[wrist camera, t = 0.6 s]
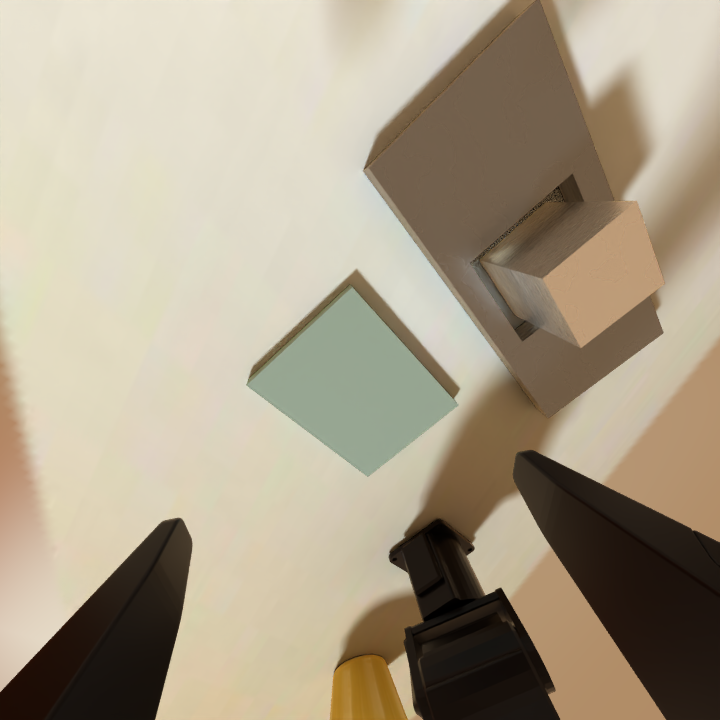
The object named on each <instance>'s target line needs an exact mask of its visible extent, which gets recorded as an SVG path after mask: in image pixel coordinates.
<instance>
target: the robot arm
mask: <svg viewBox="0 0 720 720" xmlns="http://www.w3.org/2000/svg"><path fill="white" fill-rule="evenodd" d="M513 479H514V482H515V484H516V486H517V488H518V489H519V491H520V493H521V495H522V497H523V499H524V501H525V502H526V504H527V506H528V508H529V510H530V512H531V513H532V515H533V517H534V519H535V521H536V523H537V525H538V526H539V528H540V530H541V532H542V533H543V535H544V537H545V538H546V540H547V541H548V543H549V544H550V546H551V547H552V549H553V550H554V552H555V553H556V555H557V556H558V558H559V559H560V561H561V562H562V564H563V565H564V567H565V568H566V570H567V571H568V573H569V574H570V576H571V577H572V579H573V580H574V582H575V583H576V585H577V586H578V588H579V589H580V591H581V592H582V594H583V595H584V597H585V598H586V600H587V601H588V603H589V604H590V606H591V607H592V609H593V610H594V612H595V613H596V615H597V616H598V618H599V619H600V621H601V622H602V624H603V625H604V627H605V628H606V630H607V631H608V633H609V634H610V636H611V637H612V639H613V640H614V642H615V643H616V645H617V646H618V648H619V649H620V651H621V652H622V654H623V655H624V657H625V658H626V660H627V661H628V663H629V664H630V666H631V667H632V669H633V671H634V672H635V674H636V675H637V677H638V678H639V679H640V681H641V682H642V684H643V685H644V687H645V688H646V690H647V691H648V693H649V694H650V696H651V697H652V699H653V700H654V702H655V703H656V705H657V706H658V708H659V710H660V711H661V713H662V714H663V716H664V717H665V719H666V720H720V542H718V541H716V540H714V539H712V538H710V537H708V536H706V535H704V534H702V533H700V532H698V531H692V529H691V528H689V527H687V526H685V525H683V524H681V523H679V522H677V521H675V520H673V519H671V518H669V517H667V516H665V515H663V514H661V513H659V512H657V511H655V510H653V509H651V508H649V507H646V506H645V505H643V504H641V503H639V502H637V501H635V500H632V499H630V498H628V497H626V496H624V495H622V494H620V493H618V492H616V491H614V490H612V489H610V488H608V487H606V486H604V485H602V484H600V483H598V482H596V481H594V480H592V479H590V478H588V477H586V476H584V475H582V474H580V473H578V472H576V471H574V470H572V469H570V468H568V467H566V466H564V465H562V464H560V463H558V462H556V461H554V460H551V459H549V458H547V457H545V456H543V455H541V454H539V453H537V452H535V451H533V450H527V451H522V452H518V453H517V454H516V457H515V463H514V469H513ZM474 549H475V548H474V546H473V544H472V543H471V542H470V541H468V540H467V539H466V538H465V537H463V536H462V535H461V534H460V533H458V532H457V531H456V530H454V529H453V528H452V527H451V526H449V525H448V524H447V523H446V522H444V521H443V520H441V519H439V520H436V521H435V522H433V523H432V524H430V525H429V526H428V527H426V528H425V529H424V530H422V531H421V532H419V533H418V534H417V535H415V536H414V537H413V538H411V539H410V540H408V541H407V542H406V543H404V544H403V545H402V546H400V547H399V548H397V549H396V550H395V551H393V552H392V553H391V554H390V555H389V560H390V562H391V563H393V564H394V565H396V566H398V567H399V568H401V569H403V570H404V571H406V572H407V573H408V574H409V577H410V581H411V584H412V587H413V590H414V594H415V597H416V600H417V603H418V607H419V610H420V613H421V617H422V620H423V622H422V623H420V624H417V625H415V626H413V627H411V626H409V627H407V628H405V634H406V639H405V640H404V645H405V649H406V653H407V657H408V662H409V667H410V676H411V687H412V698H413V706H414V710H415V712H416V714H417V715H419V716H420V717H421V718H422V719H423V720H560V718H559V716H558V714H557V712H556V710H555V708H554V706H553V704H552V702H551V700H550V698H549V696H548V694H550V693H553V692H555V687H554V685H553V682H552V680H551V678H550V676H549V673H548V671H547V669H546V667H545V665H544V663H543V661H542V659H541V657H540V655H539V653H538V652H537V650H536V648H535V646H534V644H533V642H532V641H531V639H530V637H529V635H528V633H527V631H526V630H525V628H524V626H523V625H522V623H521V621H520V619H519V618H518V616H517V614H516V613H515V611H514V609H513V607H512V605H511V604H510V602H509V600H508V599H507V597H506V595H505V593H504V592H503V590H502V588H498V589H496V590H495V592H492V593H490V594H488V595H485V593H484V591H483V589H482V587H481V585H480V583H479V581H478V579H477V577H476V575H475V573H474V571H473V569H472V567H471V565H470V562H469V560H468V558H467V555H468V554H470V553H471V552H473V551H474ZM191 553H192V539H191V536H190V534H189V532H188V530H187V527H186V525H185V523H184V521H183V520H182V519H181V518H174V519H169V520H165V521H163V522H161V523H160V524H159V525H158V526H157V527H156V528H155V529H154V530H153V531H152V532H151V533H150V535H149V536H148V537H147V538H146V539H145V540H144V541H143V542H142V543H141V544H140V545H139V546H138V547H137V548H136V549H135V550H134V551H133V552H132V554H131V555H130V556H129V557H128V558H127V559H126V560H125V561H124V562H123V563H122V564H121V565H120V566H119V567H118V568H117V569H116V570H115V571H114V573H113V574H112V575H111V576H110V577H109V578H108V579H107V580H106V581H105V582H104V583H103V584H102V585H101V586H100V587H99V588H98V589H97V590H96V592H95V593H94V594H93V595H92V596H91V597H90V598H89V599H88V600H87V601H86V602H85V603H84V604H83V605H82V606H81V607H80V608H79V610H78V611H77V612H76V613H75V614H74V615H73V616H72V617H71V618H70V619H69V620H68V621H67V622H66V623H65V624H64V625H63V626H62V627H61V629H60V630H59V631H58V632H57V633H56V634H55V635H54V636H53V637H52V638H51V639H50V640H49V641H48V642H47V643H46V645H44V647H43V648H42V649H41V650H40V651H39V652H38V653H37V654H36V655H35V656H34V657H33V658H32V659H31V660H30V661H29V662H28V663H27V664H26V665H25V667H24V668H23V669H22V670H21V671H20V672H19V673H18V674H17V675H16V676H15V677H14V678H13V679H12V680H11V681H10V682H9V683H8V684H7V686H6V687H5V688H4V689H3V690H2V691H1V692H0V720H155V718H156V714H157V710H158V706H159V703H160V699H161V695H162V691H163V687H164V683H165V679H166V675H167V672H168V668H169V664H170V660H171V656H172V652H173V648H174V644H175V641H176V637H177V633H178V629H179V625H180V620H181V616H182V610H183V605H184V598H185V592H186V585H187V579H188V573H189V566H190V560H191Z"/></svg>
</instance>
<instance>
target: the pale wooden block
mask: <svg viewBox="0 0 720 720" xmlns="http://www.w3.org/2000/svg"><path fill="white" fill-rule="evenodd" d="M479 261H480V262H481V264H482V266H483V267H484V269H485V270H486V272H487V273H488V275H489V276H490V278H491V280H492V281H493V283H494V284H495V286H496V287H497V289H498V290H499V292H500V294H501V295H502V297H503V298H504V300H505V301H506V303H507V304H508V306H509V308H510V309H511V311H512V312H513V314H514V315H515V316H517V317H519V318H521V319H523V320H525V321H527V322H529V323H531V324H533V325H535V326H537V327H539V328H541V329H543V330H545V331H547V332H549V333H551V334H553V335H555V336H557V337H559V338H561V339H563V340H565V341H567V342H569V343H571V344H573V345H575V346H577V347H580V348H582V347H583V346H584V345H586V344H587V343H588V342H590V341H591V340H592V339H593V338H595V337H596V336H597V335H599V334H600V333H601V332H603V331H604V330H605V329H606V328H608V327H609V326H610V325H612V324H613V323H614V322H616V321H617V320H618V319H620V318H621V317H622V316H623V315H625V314H626V313H627V312H629V311H630V310H631V309H633V308H634V307H635V306H636V305H638V304H639V303H640V302H642V301H643V300H644V299H646V298H647V297H648V296H649V295H651V294H652V293H653V292H655V291H656V290H657V289H659V288H660V287H661V286H662V285H664V284H665V282H664V279H663V276H662V274H661V271H660V268H659V265H658V262H657V259H656V256H655V253H654V250H653V247H652V244H651V241H650V238H649V235H648V232H647V229H646V226H645V224H644V221H643V218H642V215H641V212H640V209H639V206H638V203H637V201H594V202H545V203H544V204H543V205H542V206H541V207H539V208H538V209H537V210H536V211H535V212H534V213H533V214H531V215H530V216H529V217H528V218H527V219H526V220H524V221H523V222H522V223H521V224H520V225H519V226H518V227H516V228H515V229H514V230H513V231H512V232H511V233H510V234H508V235H507V236H506V237H505V238H504V239H503V240H502V241H500V242H499V243H498V244H497V245H496V246H495V247H494V248H492V249H491V250H490V251H489V252H488V253H487V254H485V255H484V256H483V257H482V258H481V259H480V260H479Z"/></svg>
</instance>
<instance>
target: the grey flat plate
mask: <svg viewBox="0 0 720 720" xmlns="http://www.w3.org/2000/svg"><path fill="white" fill-rule="evenodd" d="M363 172H364V173H365V174H366V176H367V177H368V178H369V180H370V181H371V183H372V184H373V185H374V187H375V188H376V189H377V191H378V192H379V193H380V195H381V196H382V198H383V199H384V200H385V202H386V203H387V204H388V206H389V207H390V209H391V210H392V211H393V213H394V214H395V215H396V217H397V218H398V219H399V221H400V222H401V224H402V225H403V226H404V228H405V229H406V230H407V232H408V233H409V235H410V236H411V237H412V239H413V240H414V241H415V243H416V244H417V246H418V247H419V248H420V250H421V251H422V252H423V254H424V255H425V256H426V258H427V259H428V261H429V262H430V263H431V265H432V266H433V267H434V269H435V270H436V272H437V273H438V274H439V276H440V277H441V278H442V280H443V281H444V282H445V284H446V285H447V287H448V288H449V289H450V291H451V292H452V293H453V295H454V296H455V298H456V299H457V300H458V302H459V303H460V304H461V306H462V307H463V309H464V310H465V311H466V313H467V314H468V315H469V317H470V318H471V319H472V321H473V322H474V324H475V325H476V326H477V328H478V329H479V330H480V332H481V333H482V335H483V336H484V337H485V339H486V340H487V341H488V343H489V344H490V346H491V347H492V348H493V350H494V351H495V352H496V354H497V355H498V356H499V358H500V359H501V361H502V362H503V363H504V365H505V366H506V367H507V369H508V370H509V372H510V373H511V374H512V376H513V377H514V378H515V380H516V381H517V382H518V384H519V385H520V387H521V388H522V389H523V391H524V392H525V393H526V395H527V396H528V398H529V399H530V400H531V402H532V403H533V404H534V406H535V407H536V408H537V409H538V410H539V411H540V412H542V413H543V414H544V415H545V416H546V417H548V418H549V417H551V416H552V415H553V414H555V413H556V412H557V411H559V410H560V409H561V408H563V407H564V406H565V405H567V404H568V403H570V402H571V401H572V400H574V399H575V398H576V397H578V396H579V395H580V394H582V393H583V392H584V391H586V390H587V389H588V388H590V387H591V386H593V385H594V384H595V383H597V382H598V381H599V380H601V379H602V378H603V377H605V376H606V375H607V374H609V373H610V372H611V371H613V370H614V369H616V368H617V367H618V366H620V365H621V364H622V363H624V362H625V361H626V360H628V359H629V358H630V357H632V356H633V355H634V354H636V353H637V352H638V351H640V350H641V349H643V348H644V347H645V346H647V345H648V344H649V343H651V342H652V341H653V340H655V339H656V338H657V337H659V336H660V335H661V334H663V330H662V327H661V325H660V322H659V319H658V317H657V314H656V311H655V309H654V306H653V303H652V300H651V298H650V295H649V296H648V297H647V298H646V299H644V300H643V301H642V302H640V303H639V304H638V305H636V306H635V307H634V308H633V309H631V310H630V311H629V312H627V313H626V314H625V315H623V316H622V317H621V318H620V319H618V320H617V321H616V322H614V323H613V324H612V325H610V326H609V327H608V328H606V329H605V330H604V331H603V332H601V333H600V334H599V335H597V336H596V337H595V338H593V339H592V340H591V341H590V342H588V343H587V344H586V345H584V346H583V347H582V348H580V347H577V346H575V345H573V344H571V343H569V342H567V341H565V340H563V339H561V338H559V337H557V336H555V335H553V334H551V333H549V332H547V331H545V330H543V329H541V328H539V327H537V326H535V325H533V324H531V323H529V322H527V321H525V322H524V323H523V324H522V325H520V326H519V327H518V328H517V329H515V330H514V329H513V327H512V326H511V324H510V323H509V321H508V320H507V318H506V317H505V315H504V314H503V312H502V311H501V309H500V308H499V306H498V304H497V303H496V301H495V300H494V298H493V297H492V295H491V294H490V292H489V291H488V289H487V288H486V286H485V285H484V283H483V282H482V280H481V279H480V277H479V276H478V274H477V273H476V271H475V270H474V268H473V267H472V265H471V264H470V263H471V262H472V261H473V260H474V259H475V258H476V257H477V256H479V255H480V254H481V253H482V252H483V251H484V250H485V249H487V248H488V247H489V246H490V245H491V244H492V243H493V242H495V241H496V240H497V239H498V238H499V237H500V236H501V235H503V234H504V233H505V232H506V231H507V230H508V229H509V228H511V227H512V226H513V225H514V224H515V223H516V222H517V221H519V220H520V219H521V218H522V217H523V216H524V215H525V214H527V213H528V212H529V211H530V210H531V209H532V208H533V207H535V206H536V205H537V204H538V203H539V202H540V201H541V200H543V199H544V198H545V197H546V196H547V195H548V194H549V193H551V192H552V191H553V190H554V189H555V188H556V187H557V186H558V187H559V189H560V192H561V194H562V196H563V198H564V201H565V202H594V201H614V199H613V196H612V193H611V191H610V188H609V185H608V183H607V180H606V177H605V174H604V172H603V169H602V166H601V164H600V161H599V158H598V156H597V153H596V150H595V148H594V145H593V142H592V140H591V137H590V134H589V132H588V129H587V126H586V124H585V121H584V118H583V115H582V113H581V110H580V107H579V105H578V102H577V99H576V97H575V94H574V91H573V89H572V86H571V83H570V81H569V78H568V75H567V73H566V70H565V67H564V65H563V62H562V59H561V56H560V54H559V51H558V48H557V46H556V43H555V40H554V38H553V35H552V32H551V30H550V27H549V24H548V22H547V19H546V16H545V14H544V11H543V8H542V6H541V3H540V0H536V1H535V2H534V3H532V4H531V5H530V6H529V7H528V8H527V9H525V10H524V11H523V12H522V13H521V14H520V15H518V16H517V17H516V18H515V19H514V20H513V21H512V22H511V23H510V24H509V25H508V26H507V27H506V28H505V29H504V30H503V31H502V32H501V33H500V34H499V35H498V36H497V37H496V38H495V39H494V40H493V41H492V42H491V43H490V44H489V45H488V46H487V47H486V48H485V49H484V50H483V51H482V52H481V53H480V54H479V55H478V56H477V57H476V58H475V59H474V60H473V61H472V62H471V63H470V64H469V65H468V66H467V67H466V68H465V69H464V70H463V71H462V72H461V73H460V74H459V75H458V76H457V77H456V78H455V79H454V80H453V81H452V82H451V83H450V84H449V85H448V86H447V87H446V88H445V89H444V90H443V91H442V92H441V93H440V94H439V95H438V96H437V97H436V98H435V99H434V100H433V101H432V102H431V103H430V104H429V105H428V106H427V107H426V108H425V109H424V110H423V111H422V112H421V113H420V114H419V115H418V116H417V117H416V118H415V119H414V120H413V121H412V122H411V123H410V124H409V125H408V126H407V127H406V128H405V129H404V130H403V131H402V132H401V133H400V134H399V135H398V136H397V137H396V138H395V139H394V140H393V141H392V142H391V143H390V144H389V145H388V146H387V147H386V148H385V149H384V150H383V151H382V152H381V153H380V154H379V155H378V156H377V157H376V158H375V159H374V160H373V161H372V162H371V163H370V164H369V165H368V166H367V167H366V168H365V169H364V170H363Z"/></svg>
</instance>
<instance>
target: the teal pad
mask: <svg viewBox="0 0 720 720" xmlns="http://www.w3.org/2000/svg"><path fill="white" fill-rule="evenodd" d="M247 386H248V387H249V388H251V389H252V390H253V391H255V392H256V393H257V394H259V395H260V396H261V397H263V398H264V399H265V400H267V401H268V402H269V403H270V404H272V405H273V406H274V407H276V408H277V409H278V410H280V411H281V412H282V413H284V414H285V415H286V416H288V417H289V418H290V419H292V420H293V421H294V422H296V423H297V424H298V425H300V426H301V427H302V428H304V429H305V430H306V431H308V432H309V433H310V434H312V435H313V436H314V437H316V438H317V439H318V440H320V441H321V442H322V443H324V444H325V445H326V446H328V447H329V448H330V449H332V450H333V451H334V452H335V453H337V454H338V455H339V456H341V457H342V458H343V459H345V460H346V461H347V462H349V463H350V464H351V465H353V466H354V467H355V468H357V469H358V470H359V471H361V472H362V473H363V474H365V475H366V476H367V477H368V476H370V475H371V474H372V473H373V472H375V471H376V470H377V469H379V468H380V467H381V466H382V465H384V464H385V463H386V462H387V461H389V460H390V459H391V458H392V457H394V456H395V455H396V454H397V453H399V452H400V451H401V450H403V449H404V448H405V447H406V446H408V445H409V444H410V443H411V442H413V441H414V440H415V439H416V438H418V437H419V436H420V435H422V434H423V433H424V432H425V431H427V430H428V429H429V428H430V427H432V426H433V425H434V424H435V423H437V422H438V421H439V420H441V419H442V418H443V417H444V416H446V415H447V414H448V413H449V412H451V411H452V410H453V409H454V408H456V407H457V406H458V404H457V403H456V401H455V400H454V399H453V398H452V397H451V396H450V395H449V393H448V392H447V391H446V390H445V389H444V388H443V387H442V386H441V385H440V383H439V382H438V381H437V380H436V379H435V378H434V377H433V376H432V375H431V373H430V372H429V371H428V370H427V369H426V368H425V367H424V366H423V365H422V363H421V362H420V361H419V360H418V359H417V358H416V357H415V356H414V355H413V354H412V352H411V351H410V350H409V349H408V348H407V347H406V346H405V345H404V344H403V342H402V341H401V340H400V339H399V338H398V337H397V336H396V335H395V334H394V332H393V331H392V330H391V329H390V328H389V327H388V326H387V325H386V324H385V322H384V321H383V320H382V319H381V318H380V317H379V316H378V315H377V314H376V312H375V311H374V310H373V309H372V308H371V307H370V306H369V305H368V304H367V302H366V301H365V300H364V299H363V298H362V297H361V296H360V295H359V294H358V292H357V291H356V290H355V289H354V288H353V287H352V286H351V285H349V286H348V287H347V288H346V289H345V290H344V291H342V292H341V293H340V294H339V295H338V296H337V297H336V298H335V299H334V300H333V301H332V302H331V303H330V304H329V305H327V306H326V307H325V308H324V309H323V310H322V311H321V312H320V313H319V314H318V315H317V316H316V317H315V318H313V319H312V320H311V321H310V322H309V323H308V324H307V325H306V326H305V327H304V328H303V329H302V330H301V331H300V332H298V333H297V334H296V335H295V336H294V337H293V338H292V339H291V340H290V341H289V342H288V343H287V344H286V345H284V346H283V347H282V348H281V349H280V350H279V351H278V352H277V353H276V354H275V355H274V356H273V357H272V358H271V359H269V360H268V361H267V362H266V363H265V364H264V365H263V366H262V367H261V368H260V369H259V370H258V371H257V372H255V373H254V374H253V375H252V376H251V377H250V378H249V379H248V382H247Z"/></svg>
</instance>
